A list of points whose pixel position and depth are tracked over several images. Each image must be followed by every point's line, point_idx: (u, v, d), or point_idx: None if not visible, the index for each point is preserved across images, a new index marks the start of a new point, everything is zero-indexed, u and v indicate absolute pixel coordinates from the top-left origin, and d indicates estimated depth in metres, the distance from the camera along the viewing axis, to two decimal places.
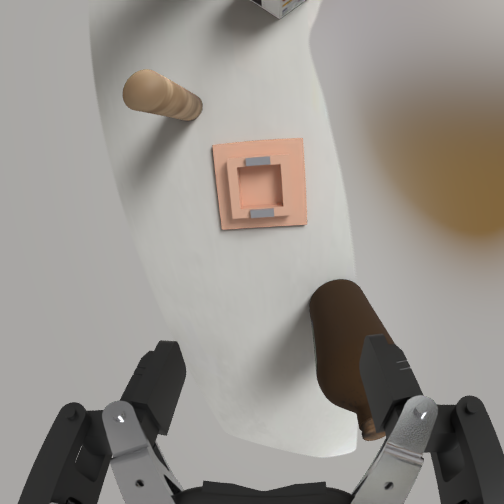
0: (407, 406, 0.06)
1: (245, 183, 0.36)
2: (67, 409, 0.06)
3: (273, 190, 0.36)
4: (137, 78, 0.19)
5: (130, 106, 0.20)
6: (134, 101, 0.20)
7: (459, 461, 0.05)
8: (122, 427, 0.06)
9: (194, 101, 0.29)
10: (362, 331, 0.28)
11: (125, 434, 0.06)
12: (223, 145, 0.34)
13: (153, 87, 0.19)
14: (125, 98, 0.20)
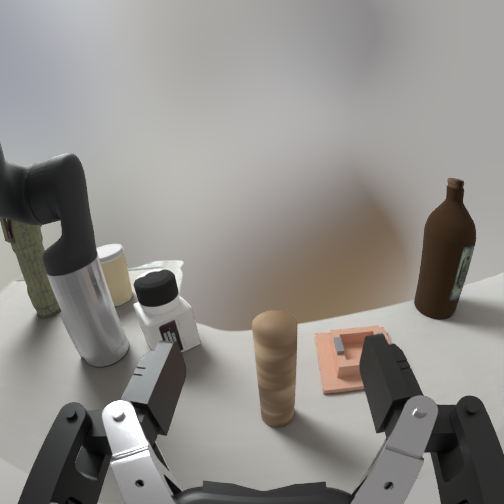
0: (407, 406, 0.06)
1: None
2: (67, 409, 0.06)
3: (362, 347, 0.38)
4: (260, 326, 0.23)
5: (290, 331, 0.22)
6: (286, 328, 0.23)
7: (459, 461, 0.05)
8: (122, 427, 0.06)
9: None
10: (427, 240, 0.40)
11: (125, 434, 0.06)
12: (324, 381, 0.33)
13: (275, 315, 0.25)
14: (279, 335, 0.22)
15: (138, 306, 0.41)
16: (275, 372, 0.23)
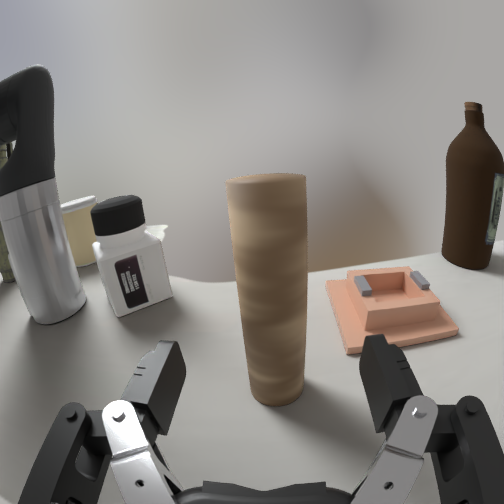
0: (407, 406, 0.06)
1: None
2: (67, 409, 0.06)
3: (391, 294, 0.27)
4: (239, 180, 0.13)
5: (294, 179, 0.12)
6: (285, 178, 0.13)
7: (459, 461, 0.05)
8: (122, 427, 0.06)
9: None
10: (453, 169, 0.30)
11: (125, 434, 0.06)
12: (346, 336, 0.22)
13: (267, 175, 0.14)
14: (273, 182, 0.12)
15: (96, 244, 0.30)
16: (270, 274, 0.13)
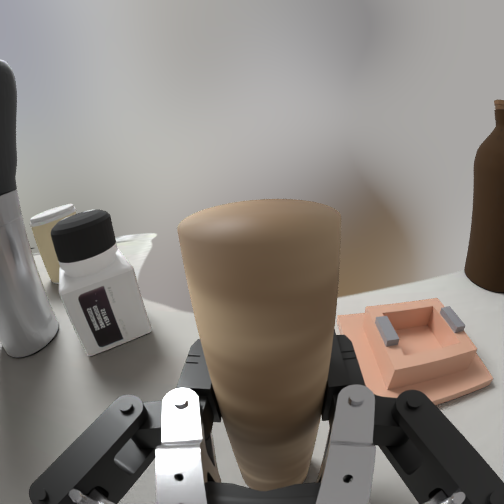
0: (342, 393, 0.07)
1: None
2: (123, 401, 0.07)
3: (417, 334, 0.21)
4: (205, 223, 0.07)
5: (321, 228, 0.05)
6: (301, 221, 0.06)
7: (416, 451, 0.06)
8: (181, 416, 0.07)
9: None
10: (483, 178, 0.23)
11: (193, 421, 0.07)
12: None
13: (264, 204, 0.08)
14: (276, 238, 0.05)
15: None
16: (265, 398, 0.07)
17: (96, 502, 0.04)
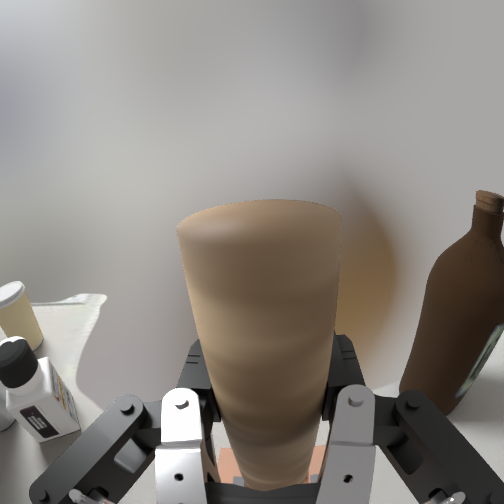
0: (342, 393, 0.07)
1: None
2: (123, 401, 0.07)
3: None
4: (205, 224, 0.06)
5: (321, 228, 0.05)
6: (301, 222, 0.06)
7: (416, 451, 0.06)
8: (180, 416, 0.07)
9: None
10: (431, 309, 0.21)
11: (193, 421, 0.07)
12: None
13: (264, 205, 0.08)
14: (275, 239, 0.05)
15: None
16: (266, 399, 0.06)
17: (96, 502, 0.04)
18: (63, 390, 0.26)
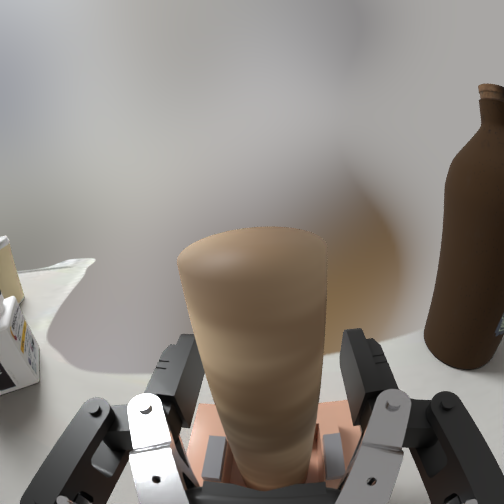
0: (379, 399, 0.07)
1: None
2: (91, 404, 0.07)
3: None
4: (202, 256, 0.07)
5: (307, 262, 0.06)
6: (289, 255, 0.07)
7: (441, 455, 0.05)
8: (147, 421, 0.07)
9: None
10: (456, 209, 0.16)
11: (154, 427, 0.07)
12: None
13: (257, 234, 0.08)
14: (264, 275, 0.06)
15: None
16: (261, 411, 0.07)
17: None
18: (27, 336, 0.22)
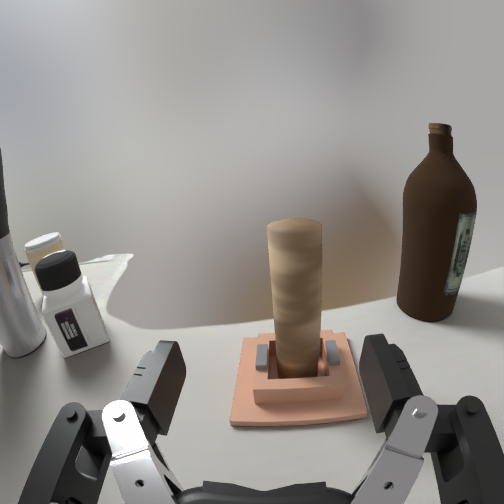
0: (407, 406, 0.06)
1: None
2: (67, 409, 0.06)
3: None
4: (277, 227, 0.20)
5: (314, 229, 0.18)
6: (308, 227, 0.19)
7: (459, 461, 0.05)
8: (122, 427, 0.06)
9: None
10: (407, 209, 0.29)
11: (125, 434, 0.06)
12: (234, 408, 0.22)
13: (294, 221, 0.21)
14: (301, 232, 0.18)
15: None
16: (298, 291, 0.19)
17: None
18: (97, 307, 0.35)
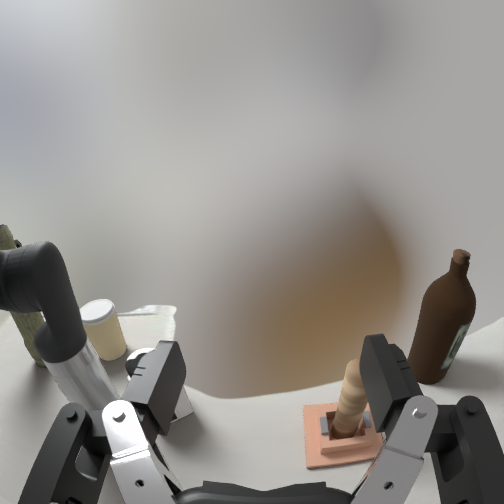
0: (407, 406, 0.06)
1: None
2: (67, 409, 0.06)
3: None
4: (353, 372, 0.28)
5: None
6: None
7: (459, 461, 0.05)
8: (122, 427, 0.06)
9: None
10: (424, 315, 0.38)
11: (125, 434, 0.06)
12: (308, 458, 0.30)
13: None
14: None
15: None
16: (359, 402, 0.28)
17: None
18: None
